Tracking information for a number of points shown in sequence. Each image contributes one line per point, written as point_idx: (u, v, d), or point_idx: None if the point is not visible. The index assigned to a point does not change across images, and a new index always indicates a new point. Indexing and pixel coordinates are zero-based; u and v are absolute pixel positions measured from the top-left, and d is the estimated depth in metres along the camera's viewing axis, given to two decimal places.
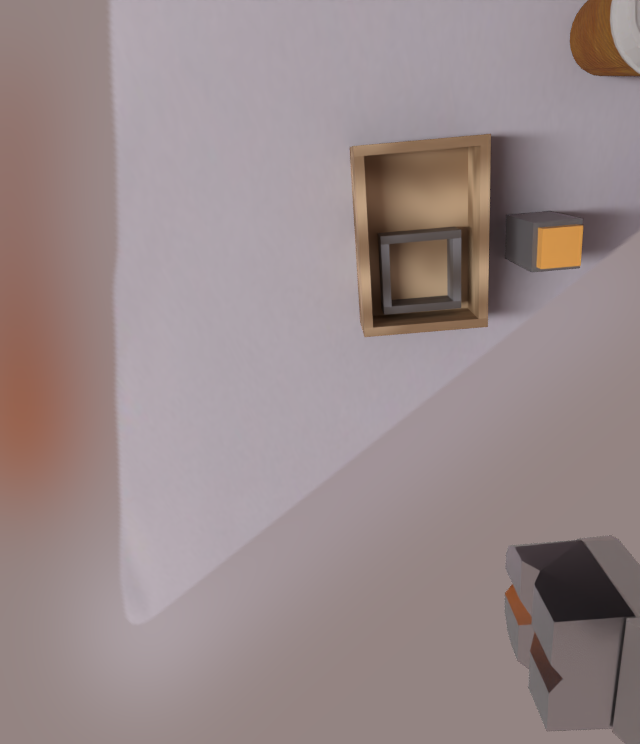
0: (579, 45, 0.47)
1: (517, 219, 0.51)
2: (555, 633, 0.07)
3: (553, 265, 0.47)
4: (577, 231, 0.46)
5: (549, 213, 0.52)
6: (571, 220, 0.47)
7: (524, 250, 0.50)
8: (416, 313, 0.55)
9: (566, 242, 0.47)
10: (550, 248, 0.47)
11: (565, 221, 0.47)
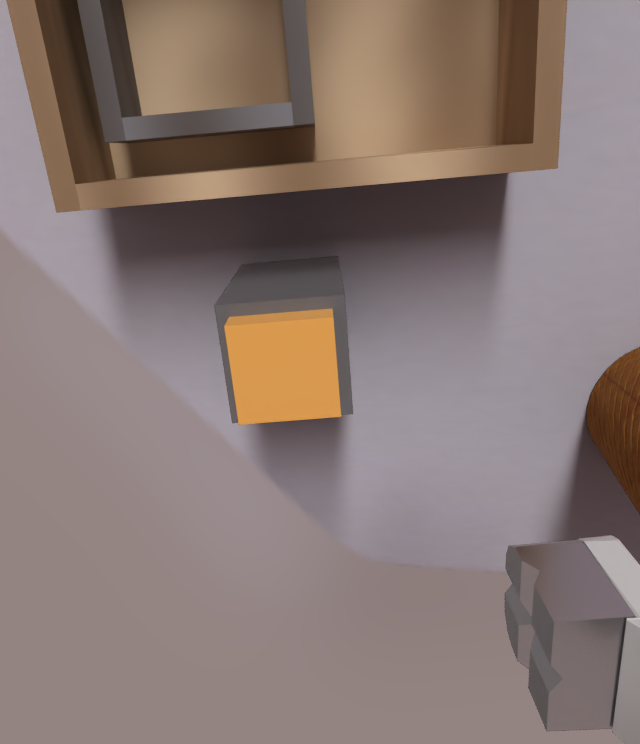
0: None
1: (337, 270, 0.21)
2: (555, 633, 0.07)
3: (236, 358, 0.17)
4: (325, 404, 0.18)
5: None
6: (349, 387, 0.19)
7: (267, 288, 0.20)
8: (82, 28, 0.20)
9: (298, 382, 0.18)
10: (281, 343, 0.17)
11: (347, 373, 0.19)
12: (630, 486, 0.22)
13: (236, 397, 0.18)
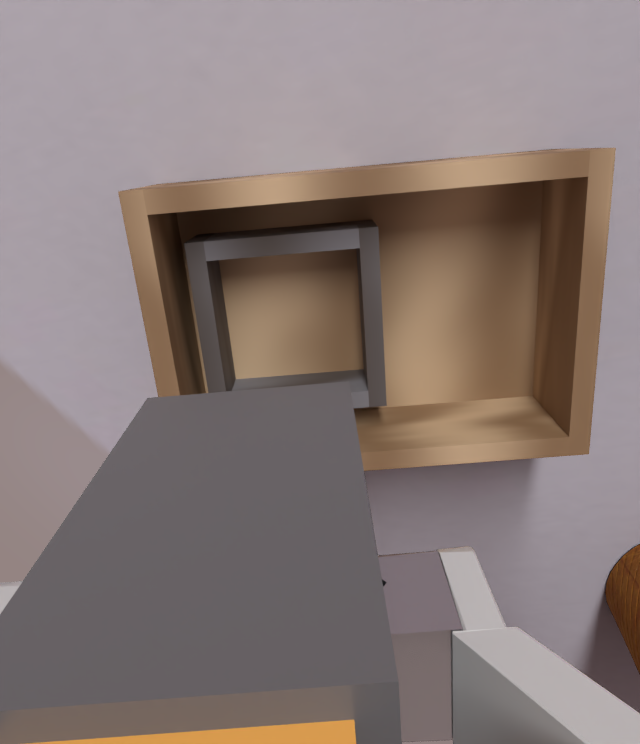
0: None
1: (354, 457, 0.09)
2: None
3: None
4: None
5: None
6: None
7: (157, 559, 0.07)
8: (190, 317, 0.24)
9: None
10: None
11: None
12: None
13: None
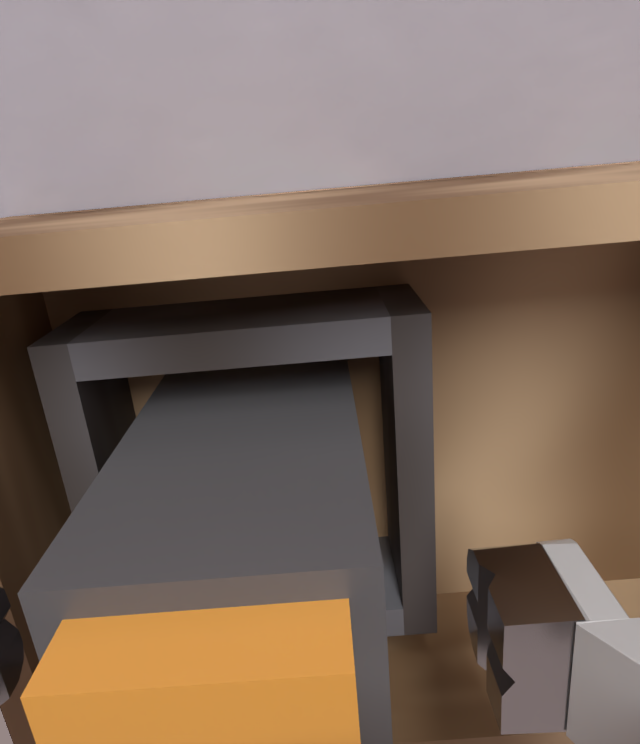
0: None
1: (350, 416, 0.10)
2: (505, 637, 0.07)
3: None
4: None
5: None
6: None
7: (186, 489, 0.08)
8: None
9: None
10: (197, 736, 0.06)
11: (384, 738, 0.07)
12: None
13: None
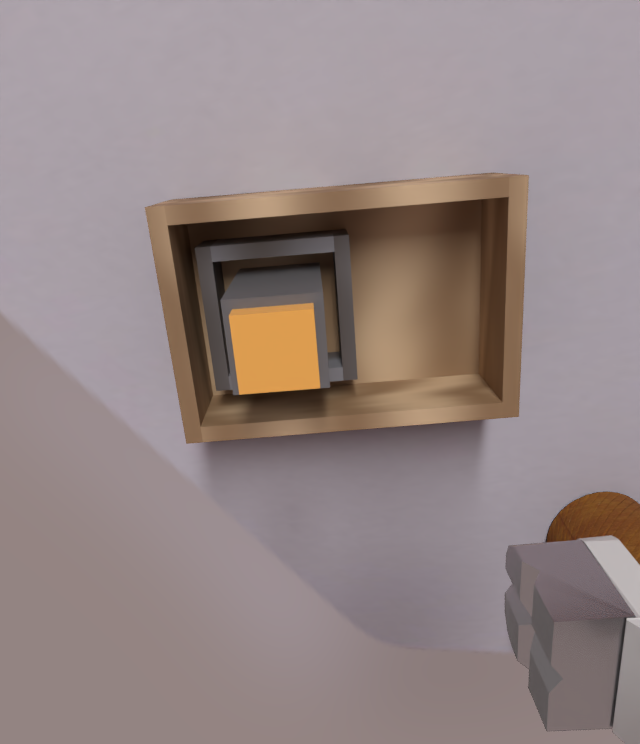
0: (602, 511, 0.33)
1: (318, 273, 0.26)
2: (555, 633, 0.07)
3: (238, 341, 0.22)
4: (307, 378, 0.23)
5: None
6: (326, 366, 0.24)
7: (261, 287, 0.24)
8: (197, 308, 0.29)
9: (286, 360, 0.23)
10: (273, 329, 0.22)
11: (325, 355, 0.24)
12: None
13: (237, 372, 0.23)
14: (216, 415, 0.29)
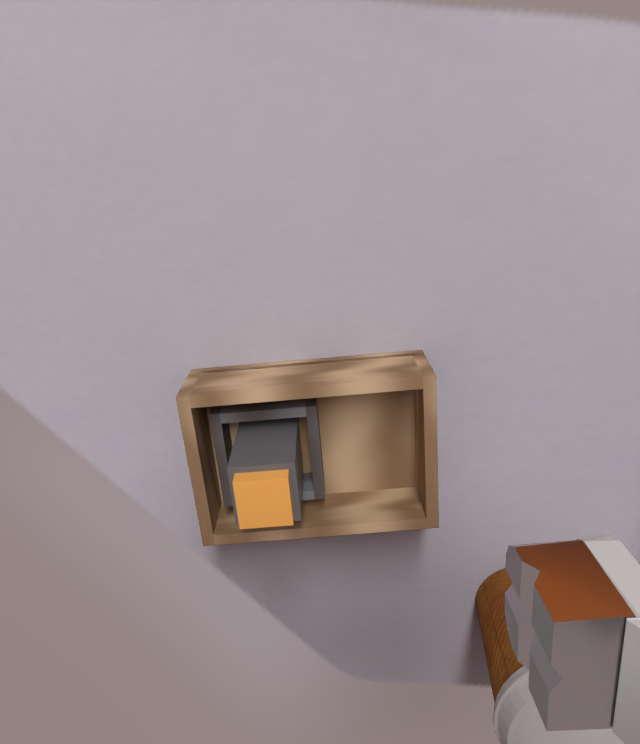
0: None
1: (294, 433, 0.38)
2: (555, 633, 0.07)
3: (238, 497, 0.34)
4: (284, 519, 0.34)
5: (301, 466, 0.40)
6: (298, 507, 0.35)
7: (254, 450, 0.36)
8: (210, 445, 0.41)
9: (270, 508, 0.34)
10: (261, 490, 0.34)
11: (297, 500, 0.35)
12: None
13: (238, 516, 0.34)
14: (224, 523, 0.41)
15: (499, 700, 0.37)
